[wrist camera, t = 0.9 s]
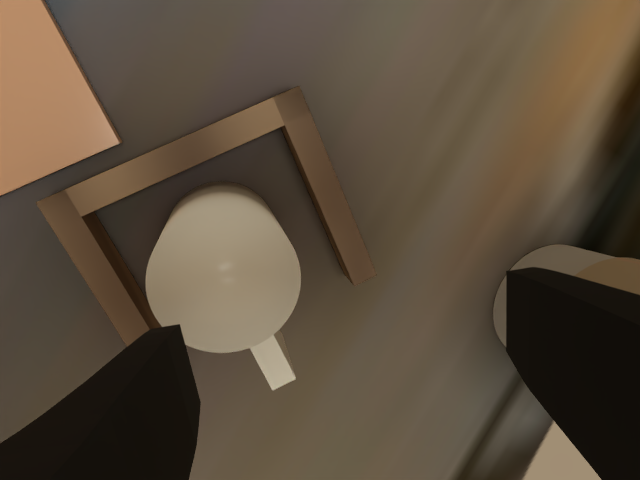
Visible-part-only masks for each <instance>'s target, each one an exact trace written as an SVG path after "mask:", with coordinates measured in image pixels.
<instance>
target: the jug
mask: <svg viewBox="0 0 640 480" xmlns="http://www.w3.org/2000/svg"><path fill="white" fill-rule="evenodd" d="M145 281H146V293H147V299H148V302H149V305H150V308H151V310H152V312H153V314H154V316H155V318H156V319H157V320H158V322H159V323H160V325H161V326H162V327H165V326H171V325H177V324H180V327H181V331H182V334H183V338H184V342H185V345H188V346H190V347H192V348H195V349H198V350H201V351H207V352H214V353H230V352H236V351H241V350H245V349H248V348H250V350H251V351H252V353H253V355H254V357H255V359H256V361H257V363H258V364H259V366H260V368H261V370H262V372H263V374H264V376H265V377H266V379H267V381H268V383H269V385H270V387H271V389H272V390H275V389H277V388H279V387H281V386H283V385H285V384H287V383H289V382H291V381H293V380H295V379H296V377H295V374H294V370H293V367H292V364H291V361H290V358H289V354H288V351H287V348H286V345H285V341H284V338H283V335H282V333H281V331H280V328H281V327H282V326H283V325H284V323H285V322H286V321H287V320H288V318H289V317H290V315H291V314H292V312H293V310H294V308H295V305H296V303H297V300H298V297H299V292H300V287H301V271H300V265H299V261H298V257H297V255H296V252H295V250H294V248H293V246H292V244H291V242H290V241H289V239H288V238H287V236H286V234H285V233H284V231H283V229H282V228H281V226H280V225H279V223H278V221H277V220H276V218H275V216H274V215H273V213H272V212H271V210H270V208H269V207H268V205H267V204H266V203H265V201H264V200H263V199H262V198H261V197H260V196H259V195H258V194H257V193H255V192H254V191H253V190H251V189H249V188H248V187H245V186H243V185H241V184H237V183H234V182H228V181H216V182H210V183H205V184H202V185H200V186H197V187H196V188H194V189H192V190H190V191H189V192H188V193H186V194H185V195H184V196H183V197H182V198H181V199H180V200H179V201H178V203H177V204H176V205H175V207H174V209H173V210H172V212H171V214H170V216H169V219H168V221H167V223H166V225H165V227H164V229H163V231H162V233H161V235H160V237H159V239H158V241H157V243H156V246H155V248H154V250H153V252H152V254H151V257H150V259H149V262H148V266H147V270H146V279H145Z"/></svg>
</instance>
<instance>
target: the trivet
mask: <svg viewBox="0 0 640 480" xmlns="http://www.w3.org/2000/svg"><path fill="white" fill-rule="evenodd" d="M120 143H122V141H121V139H120V137H119V135H118V133H117V132H116V130H115V128H114V126H113V124H112V123H111V121H110V119H109V117H108V115H107V113H106V112H105V110H104V108H103V106H102V104H101V103H100V101H99V99H98V97H97V95H96V93H95V92H94V90H93V88H92V86H91V84H90V82H89V81H88V79H87V77H86V75H85V73H84V72H83V70H82V68H81V66H80V64H79V62H78V61H77V59H76V57H75V55H74V53H73V52H72V50H71V48H70V46H69V44H68V42H67V41H66V39H65V37H64V35H63V33H62V31H61V30H60V28H59V26H58V24H57V22H56V21H55V19H54V17H53V15H52V13H51V11H50V10H49V8H48V6H47V4H46V2H45V1H44V0H0V196H2V195H4V194H6V193H8V192H11V191H13V190H15V189H18V188H20V187H22V186H24V185H27V184H29V183H31V182H34V181H36V180H38V179H40V178H43V177H45V176H47V175H49V174H52V173H54V172H56V171H59V170H61V169H63V168H65V167H68V166H70V165H72V164H74V163H77V162H79V161H81V160H84V159H86V158H88V157H90V156H93V155H95V154H97V153H100V152H102V151H104V150H106V149H109V148H111V147H113V146H115V145H118V144H120Z"/></svg>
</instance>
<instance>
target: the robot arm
mask: <svg viewBox="0 0 640 480" xmlns="http://www.w3.org/2000/svg"><path fill="white" fill-rule="evenodd" d="M506 351H507V353H508V355H509V357H510V358H511V360H512V362H513V364H514V365H515V367H516V369H517V371H518V372H519V374H520V375H521V377H522V379H523V380H524V382H525V384H526V385H527V387H528V388H529V390H530V391H531V392H532V393H533V395H534V396H535V397H536V399H537V400H538V401H539V402H540V404H541V405H542V406H543V407H544V409H545V410H546V411H547V412H548V414H549V415H550V416H551V417H552V419H553V420H554V421H555V422H556V424H557V425H558V426H559V427H560V429H561V430H562V431H563V432H564V433H565V435H566V436H567V437H568V438H569V440H570V441H571V442H572V443H573V444H574V446H575V447H576V448H577V449H578V451H579V452H580V453H581V454H582V456H583V457H584V458H585V459H586V461H587V462H588V463H589V464H590V466H591V467H592V468H593V469H594V470H595V472H596V473H597V474H598V475H599V477H600V478H601V479H602V480H640V295H639V294H635V293H632V292H628V291H624V290H621V289H617V288H614V287H610V286H607V285H604V284H600V283H597V282H593V281H590V280H586V279H583V278H579V277H576V276H572V275H569V274H565V273H561V272H557V271H553V270H549V269H544V268H538V267H529V268H523V269H517V270H511V271H506ZM200 403H201V402H200V399H199V395H198V391H197V387H196V383H195V380H194V376H193V372H192V368H191V365H190V361H189V357H188V353H187V349H186V346H185V342H184V338H183V334H182V331H181V327H180V324H177V325H171V326H165V327H159V328H153V329H150V330H149V331H147V332H145V333H144V334H143V335H141V336H140V337H139V338H137V339H136V340H135V341H134V342H133V343H131V344H130V345H129V346H128V347H126V348H125V349H124V350H123V351H122V352H120V353H119V354H118V355H117V356H116V357H115V358H113V359H112V360H111V361H110V362H109V363H107V364H106V365H105V366H104V367H102V368H101V369H100V370H99V371H98V372H96V373H95V374H94V375H93V376H92V377H90V378H89V379H88V380H87V381H86V382H84V383H83V384H82V385H80V386H79V387H78V388H77V389H75V390H74V391H73V392H71V393H70V394H69V395H67V396H66V397H65V398H64V399H62V400H61V401H60V402H58V403H57V404H56V405H54V406H53V407H52V408H51V409H49V410H48V411H47V412H45V413H44V414H43V415H41V416H40V417H39V418H37V419H36V420H34V421H33V422H32V423H30V424H29V425H27V426H26V427H24V428H23V429H22V430H20V431H19V432H17V433H16V434H14V435H13V436H11V437H10V438H8V439H7V440H5V441H3V442H2V443H0V480H189V476H190V472H191V467H192V463H193V459H194V454H195V450H196V445H197V436H198V427H199V415H200Z"/></svg>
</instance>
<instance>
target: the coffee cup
mask: <svg viewBox="0 0 640 480" xmlns="http://www.w3.org/2000/svg"><path fill="white" fill-rule="evenodd" d="M529 267H538V268H544V269H549V270H553V271H557V272H561V273H565V274H569V275H572V276H576V277H579V278H583V279H586V280H590V281H593V282H597V283H600V284H604V285H607V286H610V287H614V288H617V289H621V290H624V291H628V292H632V293H635V294H639V295H640V260H637V259H633V258H617V257H613V256H609V255H605V254H601V253H597V252H593V251H589V250H585V249H581V248H577V247H573V246H569V245H562V244H555V245H548V246H544V247H541V248H539V249H536V250H534V251H532V252H530V253H529V254H527V255H526V256H524V257H523V258H522V259H520V260H519V261H518V262H517V263H516V264H515V265H514V266H513V267H512V268H511V269H510V270H509V271H511V270H517V269H523V268H529ZM493 322H494V327H495V330H496V333H497V335H498V337H499V339H500V341H501V342H502V343H503V344H504V346H505V347H506V276H505V277H504V279H503V281H502V282H501V284H500V286H499V289H498V291H497V294H496V297H495V301H494V307H493Z"/></svg>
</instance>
